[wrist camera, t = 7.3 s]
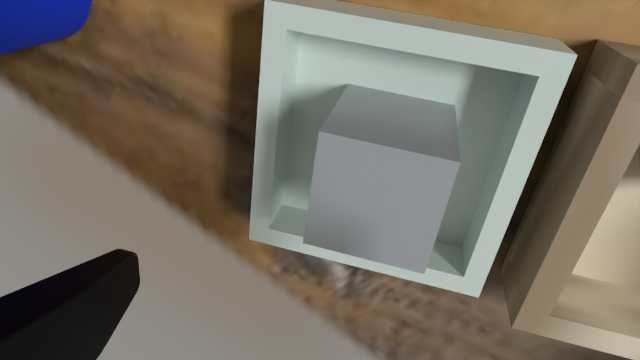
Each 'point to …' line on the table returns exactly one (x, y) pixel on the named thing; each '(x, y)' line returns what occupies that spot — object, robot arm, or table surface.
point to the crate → (586, 218)
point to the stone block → (383, 177)
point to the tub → (412, 80)
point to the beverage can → (39, 21)
